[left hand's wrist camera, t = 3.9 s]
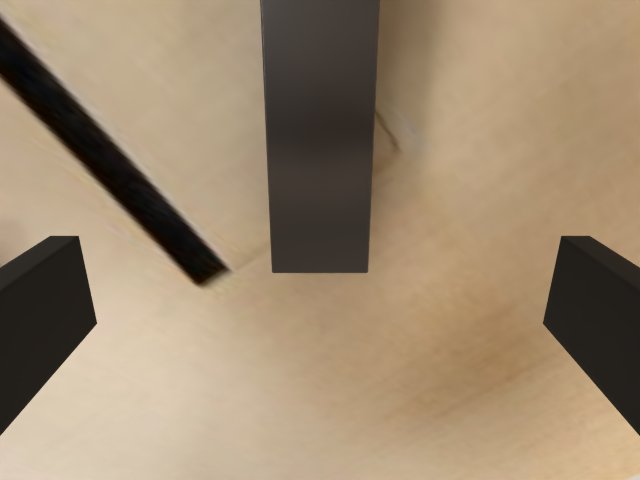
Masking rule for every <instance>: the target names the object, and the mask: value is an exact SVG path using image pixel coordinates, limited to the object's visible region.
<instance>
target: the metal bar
mask: <svg viewBox="0 0 640 480" xmlns="http://www.w3.org/2000/svg"><path fill="white" fill-rule="evenodd" d="M260 6H261V29H262V52H263V75H264V99H265V122H266V145H267V168H268V191H269V214H270V237H271V260H272V272H273V273H367V272H368V260H369V237H370V214H371V191H372V168H373V145H374V122H375V99H376V76H377V53H378V30H379V7H380V0H260Z"/></svg>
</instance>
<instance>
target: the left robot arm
mask: <svg viewBox="0 0 640 480" xmlns="http://www.w3.org/2000/svg"><path fill="white" fill-rule="evenodd" d="M96 324H97V321H96V316H95V311H94V307H93V302H92V297H91V292H90V288H89V283H88V278H87V273H86V269H85V264H84V259H83V255H82V250H81V245H80V240H79V236H50V237H48V238H46V239H45V240H43V241H42V242H40V243H38V244H37V245H35V246H34V247H32V248H31V249H29V250H27V251H26V252H24V253H23V254H21V255H20V256H18V257H16V258H15V259H13V260H12V261H10V262H9V263H7V264H5V265H4V266H2V267H1V268H0V435H1V434H2V433H3V432H4V431H5V430H6V429H7V427H8V426H9V425H10V424H11V423H12V422H13V420H14V419H15V418H16V417H17V416H18V415H19V413H20V412H21V411H22V410H23V409H24V408H25V406H26V405H27V404H28V403H29V402H30V401H31V400H32V398H33V397H34V396H35V395H36V394H37V393H38V391H39V390H40V389H41V388H42V387H43V386H44V384H45V383H46V382H47V381H48V380H49V379H50V377H51V376H52V375H53V374H54V373H55V372H56V371H57V369H58V368H59V367H60V366H61V365H62V364H63V362H64V361H65V360H66V359H67V358H68V357H69V355H70V354H71V353H72V352H73V351H74V350H75V348H76V347H77V346H78V345H79V344H80V343H81V342H82V340H83V339H84V338H85V337H86V336H87V335H88V333H89V332H90V331H91V330H92V329H93V328H94V326H95V325H96ZM543 324H544V325H545V326H546V328H547V329H548V330H549V331H550V332H551V333H552V335H553V336H554V337H555V338H556V339H557V340H558V342H559V343H560V344H561V345H562V346H563V347H564V348H565V350H566V351H567V352H568V353H569V354H570V355H571V357H572V358H573V359H574V360H575V361H576V362H577V364H578V365H579V366H580V367H581V368H582V369H583V371H584V372H585V373H586V374H587V375H588V376H589V377H590V379H591V380H592V381H593V382H594V383H595V384H596V386H597V387H598V388H599V389H600V390H601V391H602V393H603V394H604V395H605V396H606V397H607V398H608V400H609V401H610V402H611V403H612V404H613V405H614V406H615V408H616V409H617V410H618V411H619V412H620V413H621V415H622V416H623V417H624V418H625V419H626V420H627V422H628V423H629V424H630V425H631V426H632V427H633V429H634V430H635V431H636V432H637V433H638V434H639V435H640V268H639V267H638V266H636V265H635V264H633V263H631V262H630V261H628V260H627V259H625V258H624V257H622V256H620V255H619V254H617V253H616V252H614V251H613V250H611V249H609V248H608V247H606V246H605V245H603V244H602V243H600V242H598V241H597V240H595V239H594V238H592V237H590V236H561V240H560V245H559V250H558V255H557V259H556V264H555V269H554V273H553V278H552V283H551V288H550V292H549V297H548V302H547V306H546V311H545V316H544V321H543Z"/></svg>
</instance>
